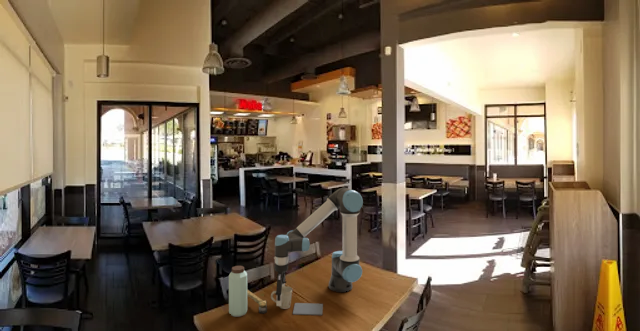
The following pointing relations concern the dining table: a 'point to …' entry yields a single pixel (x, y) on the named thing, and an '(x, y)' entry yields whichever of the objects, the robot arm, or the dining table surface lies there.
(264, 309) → the lever post
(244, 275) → the water bottle
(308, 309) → the mat
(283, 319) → the dining table surface
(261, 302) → the lever
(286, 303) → the mug
